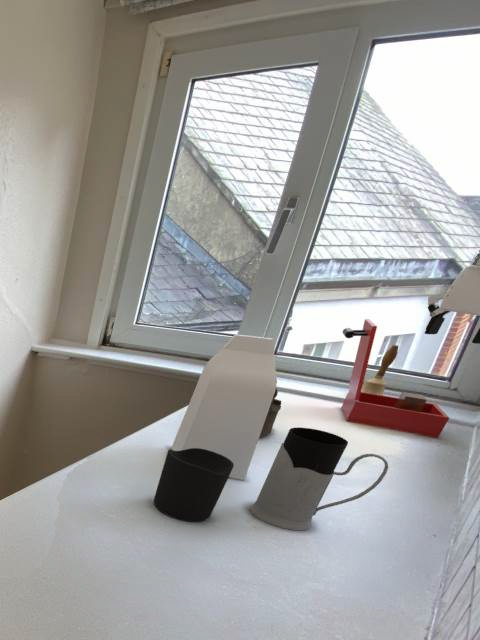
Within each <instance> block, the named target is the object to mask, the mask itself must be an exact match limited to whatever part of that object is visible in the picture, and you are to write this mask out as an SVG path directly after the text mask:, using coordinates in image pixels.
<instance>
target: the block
mask: <svg viewBox="0 0 480 640" xmlns="http://www.w3.org/2000/svg"><path fill="white" fill-rule="evenodd" d="M398 398H399V399H398V401H397V402H396V404H395V406H394V408H399V409H405V410H411V411H417V412H421V410H422V408H423V406H424V404H425V402H426V403H427V401H428V400H427V398H426V397H425V396H424V395H423V394H417V393H412V392H405V391H402V392H401V393H400V395H399V397H398Z"/></svg>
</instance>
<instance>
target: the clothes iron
mask: <svg viewBox="0 0 480 640" xmlns="http://www.w3.org/2000/svg"><path fill="white" fill-rule="evenodd" d="M278 392H279V391H278V389H277V387H276V390H275V393H274V396H273V399H272V402H271V405H270V408H269V411H268V414H267V416H266V419H265V422H264V425H263V428H262V431H261V434H260V436H259V439H260V438H264V437H267V436H269V435H270V434H271V432H272V431H273V426H274V424H275V421H276V419H277V416H278V413H279V412H280V411H281V409H282V400H280V399H278V398H277V396H278V394H279V393H278ZM276 398H277V399H276Z"/></svg>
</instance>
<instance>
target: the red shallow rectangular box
mask: <svg viewBox="0 0 480 640" xmlns="http://www.w3.org/2000/svg"><path fill="white" fill-rule="evenodd" d="M348 390H349V389H348ZM398 399H399V397H395V396H391V395H390V396H388V395H384V396H383V395H377V394H371V393H365V392H361V393H360V397H359V400H355V399H354V397H353V396H352V394H351V392H350V390H349V391H348V392H347V394H346V396H345V399H344V400H343V403H342V404H341V407H340V409H341V412H342V414H343V416H344V418H345V421H346V422H350V423H354V424H361V425H366V426H371V427H377V428H382V429H386V430H393V431H398V432H404V433H409V434H415V435H420V436H425V437H430V438H436V439H439V437H440V436H441V433H442V432H443V430H444V428H445V427H446V425H447V423H448V421H449V419H450V416H448V414H446V412H445V411H443V409H442V408H440V406H438V404H436V403H431V402H427V401H426V402H425V404H424V406H423V408H422V410H421V412H417V411H411V410H405V409H399V408H394V406H395V404H396V402H397V401H398Z"/></svg>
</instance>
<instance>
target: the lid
mask: <svg viewBox="0 0 480 640" xmlns="http://www.w3.org/2000/svg"><path fill="white" fill-rule="evenodd" d="M377 328H378V326H377V325H376V324H375V323H374V322H373V321H372V320H370V319H369V318H366V319H364V322H363V327H362V329H352V328H350V327H346V328H344V329H343V330H342V334H343V336H344V337H345V338H346V339H352V338H354V337H360V338H359V342H358V347H357V351H356V355H355V359H354V363H353V368H352V370H351V376H350V380H349V383H348V390H350V392H351V394H352V396H353V397H354V399H355V400H359V397H360V393H361V389H362V386H363V385H364V382H365V377H366V373H367V369H368V364H369V361H370V356H371V352H372V350H373V349H372V348H373V344H374V341H375V337H376V333H377Z"/></svg>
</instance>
